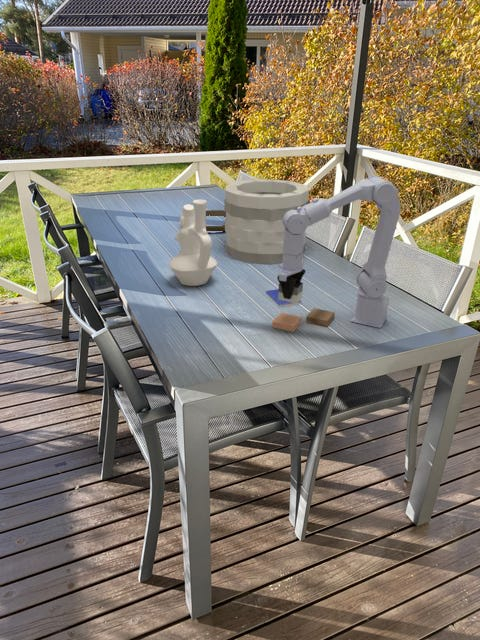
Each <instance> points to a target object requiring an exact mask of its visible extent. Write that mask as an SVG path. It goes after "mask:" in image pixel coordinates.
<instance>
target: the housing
mask: <svg viewBox="0 0 480 640" xmlns="http://www.w3.org/2000/svg"><path fill="white" fill-rule="evenodd" d="M303 288H304V283H303V282H297V281H296V282H295V284H294V287H293V292H292V296H291V299H285V298H284V297H283V293H282V288H281V285H280V283H278V289H279V290H278V300H282V301H287V302H292V303H298V302H299V301H301V300H302V299H303V290H304V289H303Z"/></svg>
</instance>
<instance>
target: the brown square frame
mask: <svg viewBox="0 0 480 640" xmlns="http://www.w3.org/2000/svg"><path fill="white" fill-rule="evenodd" d="M209 215H210V216H224V217H226V211H225V209H223V210H220V209H212V210H211V209H210V210H209V209H208V210H207V209H206V216H209ZM206 231H225V225H222V226H206Z"/></svg>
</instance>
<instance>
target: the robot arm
mask: <svg viewBox="0 0 480 640" xmlns="http://www.w3.org/2000/svg"><path fill="white" fill-rule="evenodd" d="M399 191H400V190H399V189H398V187H396V186H395V185H394V184H393V182H391V181H389V180H386V179H384V178H382V177H381V176H380V175H377V174H376V175H375V174H374V175H371V176H370V175H369V176H368V177H367V178H362V179H360V180H359V181H357V182H356V183H355V184H353V185H352V186H349V187H347V188H346V189H344V190H342V191H340V192H339V193H337V194H335V195H333V196H331V197H329V198H327V199H325V198H321V197H319V198H317V197H315V198H313V199H312V201H311V202H308V203H307V205H305V206H303V207H300V206H299V207H297V210H290V211H288V212H286V213H285V215H284V217H283V219H282V223H283V225H284V226H285V228H284V241H283V263H281V264H278V268H279V269H281V270H280V273H279V274H278V275H277V277H276V278H277V281H278V282H279V283H278V284H280V285H281V288H282V293H283V297H284V298H285V299H291V296H292V292H293V287H294V284H295V282H296V281H297V282H301V281H302V279H303V277H304V275H305V274H306V269H305V268H303V267H304V264H305V259H303V257H302V256H304V254H303V240H304V238H303V235H304V231H305V232H306V230H307V228H308V227H311V226H313V225H315V224H317V223H319V222H321V221H323V220H325V219H327V218H328V217H330V216H331V213H332V211H334V210H337V209H339V208H342V207H344V206H346V205H348V204H351V203H355V202H356V201H363V202H370V203H371V202H373V203H374V204H375V205H376V206H377V208H378V209H379V212H380V213H379V217H378V221H377V224H376V228H375V232H374V236H373V240H372V243H371V246H370V250H369V254H368V257H367V261H366V262H365V263H364V264H362V267H361V270H360V271H359V273H358V274H357V276H356V279H355V280H356V284H357V286H358V290H357V295H356V297H357V299H356V307H355V314H354V315H353V317H352V318H351V320H350V321H351V322H352V323H356V324H361V325H365V326H369V327H375V328H379V329H381V328H383V325H384V324H385V322H386V320H387V314H388V310H389V309H388V308H389V303H390V302H389V300H390V298H389V297H388V296H385V295H384V294H385V293H386V291H387V288H388V287H387V282H386V281H387V276H388V275H387V272H386V263H387V261H388V256H389V253H390V251H391V246H392V244H393V240H394V239H393V238H394V235H395V231H396V229H397V225H398V222H399V218H400V214H401V211H402V206H401V202H400V197H399Z"/></svg>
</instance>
